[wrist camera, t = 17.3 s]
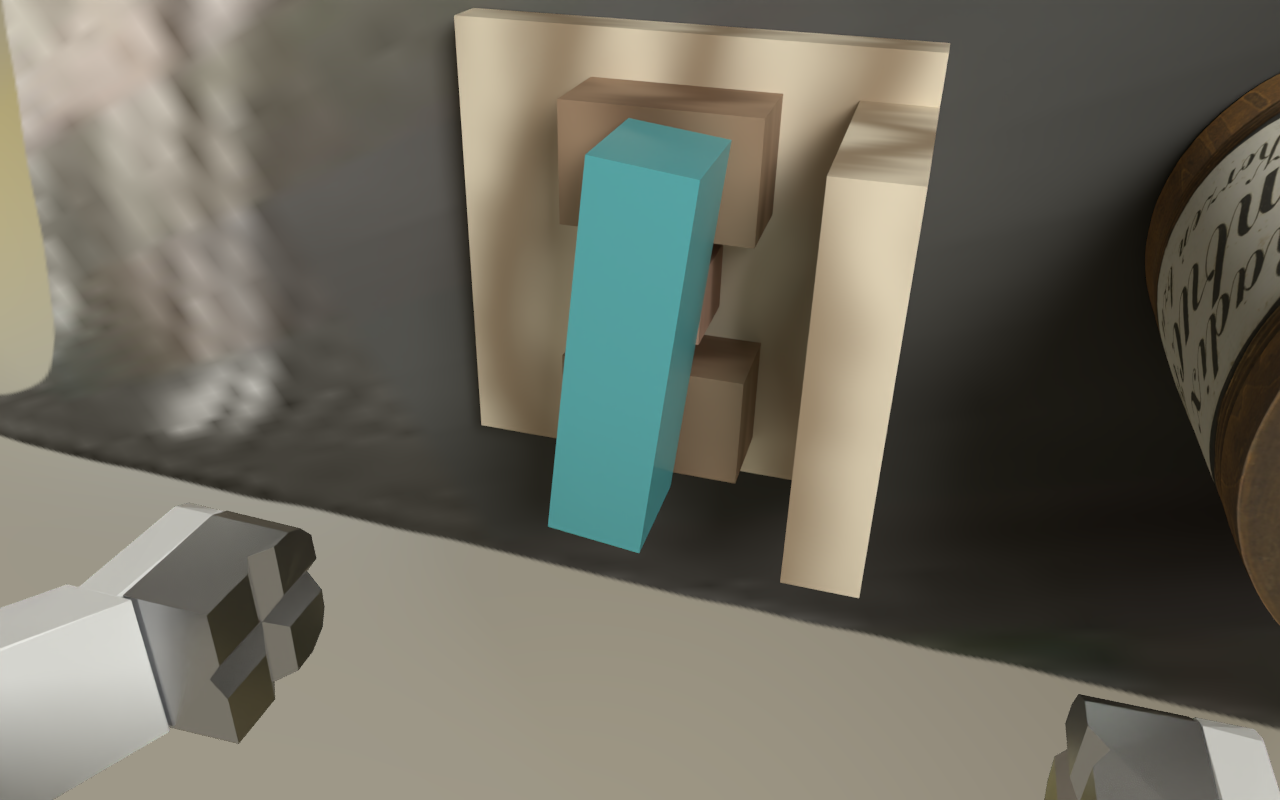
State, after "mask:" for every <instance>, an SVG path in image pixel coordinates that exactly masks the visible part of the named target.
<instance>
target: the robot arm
mask: <svg viewBox="0 0 1280 800" xmlns="http://www.w3.org/2000/svg"><path fill="white" fill-rule="evenodd" d="M315 560H316V555H315V550H314V546H313V542H312V537H311V535H310V534H309V533H307V532H305V531H304V530H302V529H300V528H296V527H292V526H288V525H284V524H280V523H276V522H271V521H267V520H263V519H259V518H255V517H250V516H247V515H242V514H238V513H234V512H230V511H221V510H217V509H213V508H209V507H205V506H201V505H197V504H193V503H186V504H182V505H178V506H175V507H174V508H172V509H171V510H170V511H169V512H167V513H166V514H165V515H164V516H163V517H161V519H159V520H158V521H157V522H155V524H153V525H152V526H151V527H150V528H148V529H147V530H146V531H145V532H144V533H142V534H141V535H140V536H139V537H138V538H137V539H135V540H134V541H133V542H132V543H130V545H128V546H127V547H126V548H125V549H123V550H122V551H121V552H120V553H119V554H117V555H116V556H115V557H114V558H113V559H111V560H110V561H109V562H108V563H107V564H106V565H104V566H103V567H102V568H101V569H100V570H98V571H97V572H96V573H95V574H94V575H92V576H91V577H90V578H89V579H88V580H87V581H85V582H84V583H83V584H82V585H80V586H79V587H76V586H72V585H68V584H66V585H64V586H61V587H58V588H55V589H53V590H50V591H47V592H44V593H41V594H38V595H36V596H32V597H30V598H27V599H24V600H21V601H18V602H16V603H13V604H10V605H7V606H4V607H1V608H0V800H53V799H55V798H57V797H59V796H60V795H62V794H64V793H65V792H67V791H69V790H71V789H72V788H74V787H76V786H77V785H79V784H81V783H83V782H84V781H86V780H88V779H89V778H91V777H93V776H95V775H96V774H98V773H100V772H101V771H103V770H105V769H107V768H108V767H110V766H112V765H113V764H115V763H117V762H118V761H120V760H122V759H124V758H125V757H127V756H129V755H131V754H132V753H134V752H136V751H137V750H139V749H141V748H143V747H144V746H146V745H148V744H149V743H151V742H153V741H155V740H156V739H158V738H160V737H161V736H163V735H165V734H167V733H168V732H169V731H170V729H169V727H170V728H175V729H179V730H183V731H187V732H192V733H195V734H200V735H204V736H208V737H213V738H217V739H221V740H225V741H229V742H233V743H238V744H239V743H240V741H241V740H242V739H243V738H244V737H245V736H246V734H247V733H248V732H249V731H250V729H251V728H252V727H253V726H254V724H255V723H256V722H257V721H258V720H259V718H260V717H261V716H262V715H263V713H264V712H265V711H266V710H267V708H268V707H269V706H270V705H271V703H272V702H273V701H274V700H275V687H274V686H275V684H274V682H275V681H277V680H279V679H281V678H283V677H285V676H287V675H289V674H291V673H293V672H296V671H298V670H299V669H300V667H301V666H302V665H303V663H304V662H305V661H306V659H307V658H308V657H309V656H310V654H311V653H312V651H313V650H314V647H315V645H316V642H317V640H318V637H319V634H320V632H321V630H322V627H323V617H324V602H323V595H322V589H321V588H320V587H319V586H318V584H317V583H316V582H315V581H314V579H313V578H312V577H311V576H310V574H309V573H308V572H307V570H308V569H309V568H310V566H311V565H312V564H313V562H314V561H315ZM1066 737H1067V750H1066V751H1063V752H1062V753H1060V754H1058V755H1056V756H1055V757H1054V760H1053V764H1052V767H1051V771H1050V774H1049V778H1048V781H1047V787H1046V794H1045V799H1044V800H1280V790H1279V787H1278V784H1277V781H1276V778H1275V774H1274V771H1273V768H1272V765H1271V762H1270V759H1269V755H1268V752H1267V749H1266V746H1265V743H1264V739H1263V738H1262V737H1261V736H1260V735H1259V733H1258V732H1257V731H1256V730H1255V729H1252V728H1247V727H1242V726H1236V725H1231V724H1226V723H1221V722H1216V721H1211V720H1206V719H1200V718H1196V717H1195V718H1193V719H1192V718H1190V717H1187V716H1183V715H1178V714H1173V713H1168V712H1163V711H1158V710H1153V709H1148V708H1144V707H1139V706H1134V705H1129V704H1124V703H1119V702H1114V701H1110V700H1105V699H1100V698H1095V697H1090V696H1085V695H1080V694H1078V696H1077V697H1076V699H1075V700H1074V702H1073V703H1072V705H1071V708H1070V711H1069V714H1068V717H1067V720H1066Z"/></svg>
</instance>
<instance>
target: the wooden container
mask: <svg viewBox="0 0 1280 800" xmlns="http://www.w3.org/2000/svg"><path fill="white" fill-rule="evenodd" d="M1145 272H1146V282H1147V288H1148V293H1149V297H1150V301H1151V305H1152V309H1153V312H1154V316H1155V319H1156V323H1157V326H1158V329H1159V332H1160V337H1161V340H1162V343H1163V347H1164V350H1165V354H1166V357H1167V360H1168V363H1169V366H1170V369H1171V372H1172V375H1173V378H1174V381H1175V384H1176V387H1177V389H1178V392H1179V395H1180V397H1181V400H1182V402H1183V405H1184V408H1185V410H1186V413H1187V415H1188V418H1189V420H1190V423H1191V425H1192V427H1193V429H1194V432H1195V434H1196V437H1197V439H1198V442H1199V445H1200V447H1201V450H1202V452H1203V455H1204V458H1205V461H1206V463H1207V466H1208V468H1209V471H1210V473H1211V476H1212V478H1213V481H1214V484H1215V486H1216V489H1217V491H1218V493H1219V496H1220V498H1221V501H1222V503H1223V506H1224V510H1225V513H1226V516H1227V520H1228V523H1229V526H1230V529H1231V532H1232V535H1233V538H1234V541H1235V543H1236V546H1237V549H1238V551H1239V554H1240V556H1241V559H1242V561H1243V564H1244V566H1245V569H1246V571H1247V573H1248V575H1249V577H1250V579H1251V581H1252V583H1253V585H1254V587H1255V589H1256V591H1257V593H1258V595H1259V597H1260V599H1261V600H1262V602H1263V604H1264V605H1265V607H1266V608H1267V610H1268V611H1269V612H1270V614H1271V615H1272V617H1273V618H1274V619H1275V621H1276V622H1277V623H1278V624H1279V625H1280V74H1278V75H1276V76H1274V77H1272V78H1270V79H1269V80H1267V81H1265V82H1264V83H1262V84H1260V85H1259V86H1257V87H1256V88H1254V89H1253V90H1251V91H1250V92H1248V93H1247V94H1245V95H1244V96H1243V97H1241V98H1240V99H1239V100H1237V101H1236V102H1235V103H1234V104H1232V105H1231V106H1230V107H1229V108H1227V109H1226V110H1225V111H1224V112H1223V113H1222V114H1220V115H1219V116H1218V117H1217V118H1216V119H1215V120H1214V121H1213V122H1212V123H1211V124H1210V125H1209V126H1208V127H1207V128H1206V129H1205V130H1204V131H1203V132H1202V133H1201V134H1200V135H1199V136H1198V137H1197V138H1196V139H1195V141H1194V142H1193V143H1192V145H1191V146H1190V147H1189V148H1188V150H1187V151H1186V152H1185V153H1184V155H1183V156H1182V157H1181V158H1180V160H1179V161H1178V163H1177V164H1176V166H1175V168H1174V169H1173V171H1172V173H1171V174H1170V176H1169V178H1168V179H1167V181H1166V183H1165V185H1164V187H1163V189H1162V191H1161V193H1160V196H1159V198H1158V200H1157V203H1156V205H1155V208H1154V211H1153V214H1152V218H1151V222H1150V227H1149V231H1148V237H1147V243H1146V251H1145Z"/></svg>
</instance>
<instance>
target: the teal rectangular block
mask: <svg viewBox="0 0 1280 800" xmlns="http://www.w3.org/2000/svg"><path fill="white" fill-rule="evenodd" d="M731 141H732V140H729V139H725V138H720V137H715V136H711V135H706V134H701V133H697V132H692V131H687V130H683V129H678V128H673V127H669V126H664V125H659V124H655V123H650V122H645V121H640V120H636V119H631V118H628V119H627V120H626V121H624V122H623V123H622V124H621V125H620V126H618V127H617V128H616V129H615V130H614V131H613V132H611V133H610V134H609V135H608V136H607V137H605V138H604V139H603V140H602V141H601V142H600V143H598V144H597V145H596V146H595V147H594V148H592V149H591V150H590V151H589V152H588V153H587V154H585V161H584V171H583V181H582V191H581V201H580V211H579V221H578V231H577V241H576V251H575V261H574V271H573V281H572V291H571V301H570V311H569V321H568V331H567V341H566V351H565V361H564V371H563V381H562V391H561V401H560V411H559V420H558V430H557V440H556V450H555V460H554V470H553V480H552V490H551V500H550V510H549V520H548V527H551V528H555V529H558V530H561V531H565V532H568V533H572V534H575V535H578V536H582V537H585V538H589V539H592V540H596V541H599V542H602V543H606V544H609V545H613V546H616V547H620V548H623V549H626V550H630V551H633V552H637V553H640V550H641V548H642V546H643V544H644V542H645V540H646V538H647V535H648V533H649V531H650V529H651V527H652V525H653V523H654V521H655V518H656V516H657V514H658V512H659V510H660V508H661V506H662V504H663V501H664V499H665V497H666V495H667V493H668V491H669V489H670V486H671V481H672V475H673V469H674V464H675V458H676V452H677V447H678V441H679V435H680V430H681V424H682V418H683V413H684V407H685V401H686V396H687V390H688V384H689V379H690V373H691V367H692V362H693V356H694V350H695V345H696V339H697V333H698V328H699V322H700V316H701V311H702V305H703V299H704V294H705V288H706V282H707V277H708V271H709V265H710V260H711V254H712V248H713V243H714V237H715V231H716V226H717V220H718V214H719V209H720V203H721V197H722V192H723V186H724V180H725V175H726V169H727V163H728V158H729V152H730V146H731Z"/></svg>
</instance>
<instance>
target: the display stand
mask: <svg viewBox="0 0 1280 800" xmlns="http://www.w3.org/2000/svg"><path fill="white" fill-rule="evenodd" d="M454 22H455V37H456V52H457V67H458V82H459V97H460V111H461V126H462V141H463V156H464V171H465V186H466V201H467V216H468V231H469V246H470V260H471V275H472V290H473V305H474V320H475V335H476V350H477V365H478V380H479V395H480V409H481V424H482V425H484V426H490V427H495V428H501V429H507V430H512V431H518V432H523V433H529V434H535V435H540V436H546V437H552V438H557V430H558V420H559V411H560V401H561V391H562V381H563V371H564V361H565V351H566V341H567V331H568V321H569V311H570V301H571V291H572V281H573V271H574V261H575V251H576V241H577V231H578V221H579V211H580V201H581V191H582V181H583V171H584V161H585V154H587V153H588V152H589V151H590V150H591V149H592V148H594V147H595V146H596V145H597V144H598V143H600V142H601V141H602V140H603V139H604V138H605V137H607V136H608V135H609V134H610V133H611V132H613V131H614V130H615V129H616V128H617V127H618V126H620V125H621V124H622V123H623V122H624V121H626V120H627V119H628V118H631V119H636V120H640V121H645V122H650V123H655V124H659V125H664V126H669V127H673V128H678V129H683V130H687V131H692V132H697V133H701V134H706V135H711V136H715V137H720V138H725V139H729V140H732V141H731V146H730V152H729V158H728V163H727V169H726V175H725V180H724V186H723V192H722V197H721V203H720V209H719V214H718V220H717V226H716V231H715V237H714V243H713V248H712V254H711V260H710V265H709V271H708V277H707V282H706V288H705V294H704V299H703V305H702V311H701V316H700V322H699V328H698V333H697V339H696V345H695V350H694V356H693V362H692V367H691V373H690V379H689V384H688V390H687V396H686V401H685V407H684V413H683V418H682V424H681V430H680V435H679V441H678V447H677V452H676V458H675V464H674V469H673V472H674V473H680V474H685V475H691V476H696V477H702V478H708V479H713V480H719V481H724V482H730V483H736V480H737V478H738V475H739V472H740V471H743V472H749V473H755V474H760V475H766V476H771V477H777V478H783V479H788V480H792V484H791V493H790V502H789V510H788V519H787V528H786V536H785V545H784V554H783V562H782V571H781V580H780V582H781V583H786V584H791V585H796V586H801V587H806V588H811V589H816V590H821V591H826V592H831V593H836V594H841V595H846V596H851V597H856V598H859V595H860V589H861V583H862V577H863V571H864V565H865V559H866V553H867V547H868V541H869V535H870V529H871V523H872V518H873V512H874V506H875V500H876V494H877V488H878V482H879V476H880V470H881V464H882V458H883V452H884V446H885V440H886V434H887V428H888V422H889V416H890V410H891V404H892V398H893V392H894V386H895V380H896V374H897V368H898V362H899V356H900V350H901V344H902V338H903V332H904V326H905V320H906V314H907V308H908V302H909V296H910V290H911V284H912V278H913V272H914V266H915V260H916V254H917V248H918V242H919V236H920V230H921V224H922V218H923V212H924V206H925V200H926V194H927V188H928V181H929V175H930V168H931V162H932V155H933V149H934V142H935V136H936V129H937V123H938V116H939V110H940V103H941V97H942V91H943V85H944V79H945V73H946V67H947V61H948V55H949V49H950V43H941V42H928V41H914V40H901V39H887V38H874V37H860V36H847V35H833V34H820V33H806V32H793V31H779V30H766V29H752V28H739V27H725V26H712V25H698V24H685V23H671V22H658V21H644V20H631V19H617V18H604V17H590V16H577V15H563V14H550V13H536V12H523V11H509V10H496V9H482V8H472V9H470V10H467V11H464V12H462V13H459V14H456V15H454Z"/></svg>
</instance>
